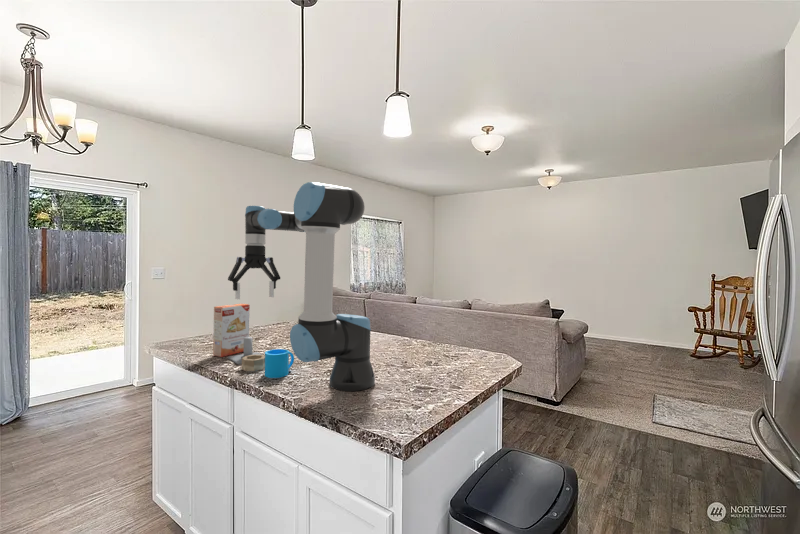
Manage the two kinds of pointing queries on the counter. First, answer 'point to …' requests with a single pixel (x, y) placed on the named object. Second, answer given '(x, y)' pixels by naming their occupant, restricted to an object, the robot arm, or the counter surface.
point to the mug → (277, 363)
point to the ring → (253, 362)
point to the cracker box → (230, 329)
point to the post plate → (238, 357)
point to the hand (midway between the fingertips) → (255, 298)
